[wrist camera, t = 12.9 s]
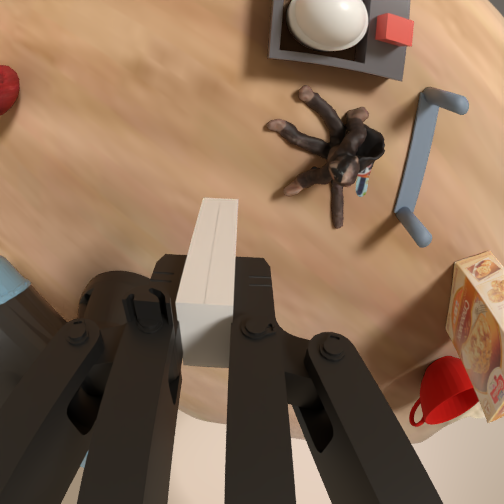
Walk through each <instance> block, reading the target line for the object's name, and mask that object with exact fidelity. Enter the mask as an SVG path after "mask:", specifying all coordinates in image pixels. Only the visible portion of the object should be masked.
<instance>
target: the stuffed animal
mask: <svg viewBox="0 0 504 504" xmlns="http://www.w3.org/2000/svg"><path fill="white" fill-rule="evenodd" d="M299 98H300V100H302V101H304V102H305V103H306V104H307V105H308V106H309V107H310V108H312V109H313V110H315V111H316V112H317V113H318V114H319V115H320V116H321V117H322V119H323V120H324V122H325V125H326V126H327V128H328V129H329V131H330V143H327V142H325V141H323V140H322V139H319V138H315V137H311V136H308V135H306V134H303V133H301V132H299V131H298V130H297V128H296V127H295V126H294V125H293V124H291V123H289V122H287V121H285V120H281V119H275V120H271V121H269V122H268V124H267V128H268V129H270V130H273V131H277V132H279V134H280V135H281V136H282V137H284V138H285V139H286V140H287V141H288V142H289V143H291V144H294V145H297V146H299V147H301V148H303V149H305V150H307V151H309V152H311V153H313V154H316V155H318V156H320V157H322V158H325V159H327V163H326V165H324V166H323V167H322V168H317V167H312V169H311V170H309V171H306V172H303V173H301V174H299V175H298V176H297V178H296V179H295V180H294V181H293V182H291V183H290V184H289V185H288V186H287V187H285V188H284V194H285V195H286V196H292V195H296V194H298V193H299V192H300V191H301V190H302V189H304V188H308V187H310V186H312V185H314V184H327V183H329V182H330V181H331V183H332V189H331V191H332V214H333V223H334V226H335V227H336V228H337V229H338V228H340V227H342V226H343V204H344V203H343V187H350V186H351V184H354V182H355V181H356V178H357V181H356V193H357V195H358V196H359V197H362V196H364V195H365V194H366V191H367V186H368V179H369V175H370V172H371V169H372V167H373V164H374V161H375V160H377V159H379V158H380V157H381V156H382V155H383V154H384V152H385V150H384V146H385V144H384V137H383V136H382V134H381V133H380V132H377V131H375V130H374V129H371V128H369V127H368V126H367V125H365V124H363V122H364V121H365V120H366V119H367V118H368V116H369V113H368V111H367V110H366V109H365V108H364V107H359V108H357V109H354V110H349V111H348V112H347V114H346V115H347V124H346V125H345V126H344V124H343V122H342V121H341V120H340V118H339V117H338V115H337V113H336V111H335V110H334V109H333V108H332V106H330V105H329V104H328V103H327V102H326V101H325V100H324V99H322V98H321V97H320V96H319V94H318V93H314V92H313V91H312V89H311V88H310V87H309V86H307V85H304V86H303V87H302V88H301V89H300V90H299ZM346 130H348V131H349V133H348V134H347V135H346ZM345 135H346V136H345Z"/></svg>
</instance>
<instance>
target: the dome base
mask: <svg viewBox="0 0 504 504" xmlns="http://www.w3.org/2000/svg"><path fill="white" fill-rule="evenodd" d="M283 2H284V0H272V6H271V18H270V30H269V42H268V54H267V59H278V60H288V61H297V62H304V63H312V64H318V65H325V66H331V67H337V68H342V69H348V70H353V71H358V72H362V73H367V74H371V75H376V76H380V77H384V78H388V79H393V80H398V81H402V78H403V71H404V63H405V55H406V46H412V37H413V26H414V21H412V20H409V13H410V0H362V2H363V3H364V5H365V7H366V10H367V14H368V27H367V30H366V33H365V35H364V36H363V38H362V39H361V40H360V41H359V42H358V43H357V45H356V54H355V61H350V60H345V59H339V58H334V57H328V56H322V55H316V54H309V53H302V52H294V51H285V50H279V49H280V38H281V26H282V14H283Z"/></svg>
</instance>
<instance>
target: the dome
mask: <svg viewBox="0 0 504 504" xmlns="http://www.w3.org/2000/svg"><path fill="white" fill-rule="evenodd" d="M286 23H287V27H288V29H289V31H290V33H291V35H292V36H293V37H294V38H295V39H296V40H297V41H298V42H299V43H300V44H302V45H303V46H305V47H307V48H309V49H312V50H315V51H322V52H328V51H337V50H344V49H347V48H350V47H352V46H354V45H355V44H357V43H358V42H359V41H360V40H361V39H362V38H363V36H364V35H365V33H366V30H367V27H368V14H367V10H366V7H365V5H364V3H363V2H362V0H292V1H291V2H290V4H289V6H288V8H287V11H286Z"/></svg>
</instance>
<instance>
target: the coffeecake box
mask: <svg viewBox="0 0 504 504" xmlns="http://www.w3.org/2000/svg"><path fill="white" fill-rule="evenodd" d="M445 329H446V331H447V333H448V335H449V337H450V339H451V341H452V343H453V344H454V346H455V348H456V350H457V353H458V355H459V357H460V359H461V361H462V363H463V365H464V367H465V369H466V372H467V374H468V376H469V378H470V381H471V383H472V385H473V387H474V390H475V392H476V394H477V397H478V399H479V402H480V404H481V407H482V409H483V412H484V414H485V417H486V419H487V423H490V422H492V421H494V420H497V419H498V418H501V417H502V416H504V267H503V266H502V264H501V263H500V262H499V261H498V260H497V259H496V257H495V256H494V255H493V254H492V253H491V251H490V250H489V251H487V252H484V253H481V254H479V255H476V256H472V257H469V258H465V259H462V260H459V261H456V262H455V264H454V273H453V281H452V289H451V297H450V304H449V310H448V316H447V322H446V327H445Z"/></svg>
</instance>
